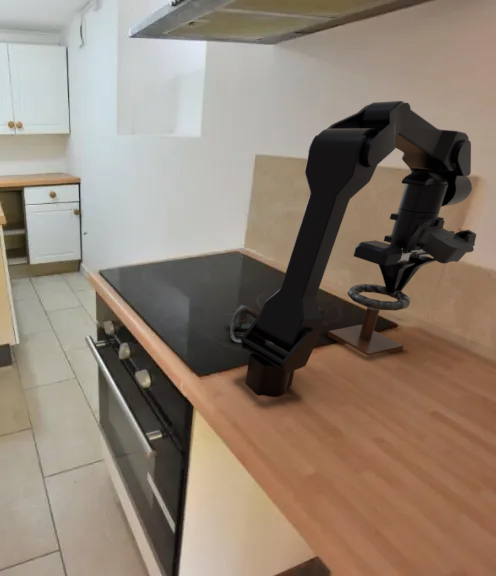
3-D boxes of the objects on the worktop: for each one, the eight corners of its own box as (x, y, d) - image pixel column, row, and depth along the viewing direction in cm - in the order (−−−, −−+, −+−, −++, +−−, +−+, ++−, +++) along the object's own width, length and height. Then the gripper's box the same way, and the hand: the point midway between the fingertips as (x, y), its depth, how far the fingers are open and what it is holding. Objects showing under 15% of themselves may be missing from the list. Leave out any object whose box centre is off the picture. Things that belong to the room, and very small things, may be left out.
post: (366, 359, 70) (377, 321, 67) (327, 336, 78) (335, 302, 75) (402, 350, 72) (414, 314, 70) (360, 329, 80) (369, 296, 77)
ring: (381, 315, 66) (384, 307, 65) (335, 294, 74) (337, 287, 74) (421, 306, 68) (424, 298, 68) (373, 287, 77) (374, 280, 76)
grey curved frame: (283, 329, 81) (246, 288, 81) (296, 337, 74) (255, 291, 74) (248, 358, 82) (211, 317, 82) (258, 368, 75) (217, 323, 75)
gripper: (428, 223, 56) (399, 317, 62) (510, 215, 62) (475, 302, 68) (362, 210, 66) (341, 292, 72) (437, 203, 72) (412, 280, 77)
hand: (393, 292), depth 72 cm, fingers closed on ring, 1 cm apart
